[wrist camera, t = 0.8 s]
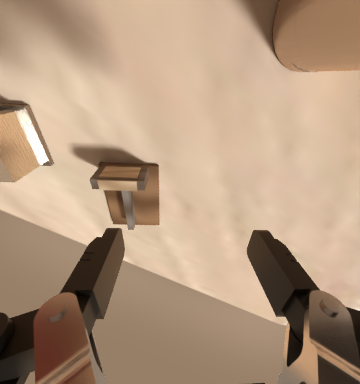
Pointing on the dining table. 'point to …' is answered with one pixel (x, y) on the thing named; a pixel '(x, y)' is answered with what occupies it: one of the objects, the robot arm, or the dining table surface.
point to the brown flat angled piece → (32, 129)
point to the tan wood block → (16, 147)
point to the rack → (130, 192)
